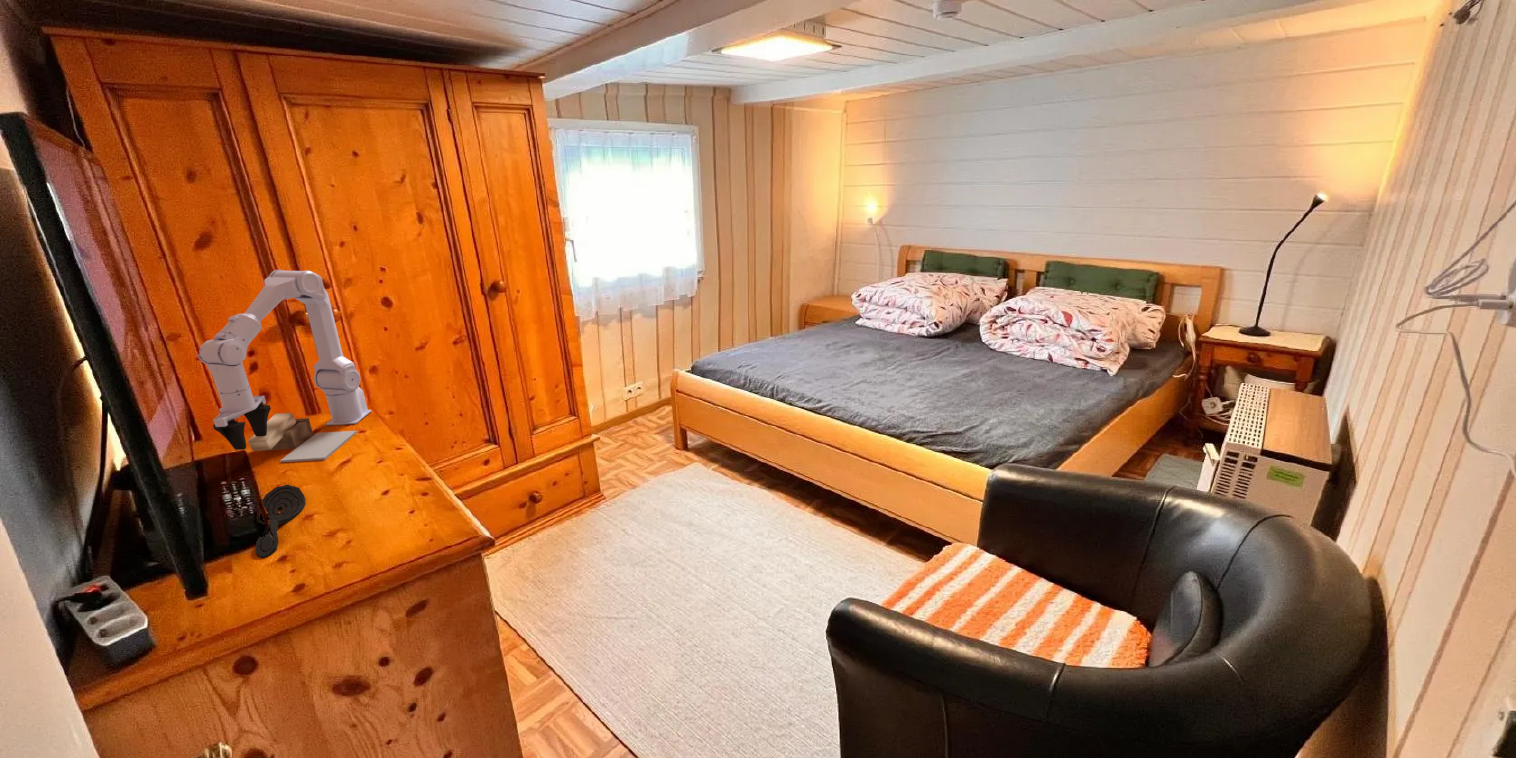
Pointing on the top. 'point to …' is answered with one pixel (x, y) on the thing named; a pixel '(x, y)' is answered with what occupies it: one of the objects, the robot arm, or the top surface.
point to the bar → (272, 432)
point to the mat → (319, 446)
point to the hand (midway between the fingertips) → (251, 442)
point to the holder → (295, 435)
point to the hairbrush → (279, 514)
